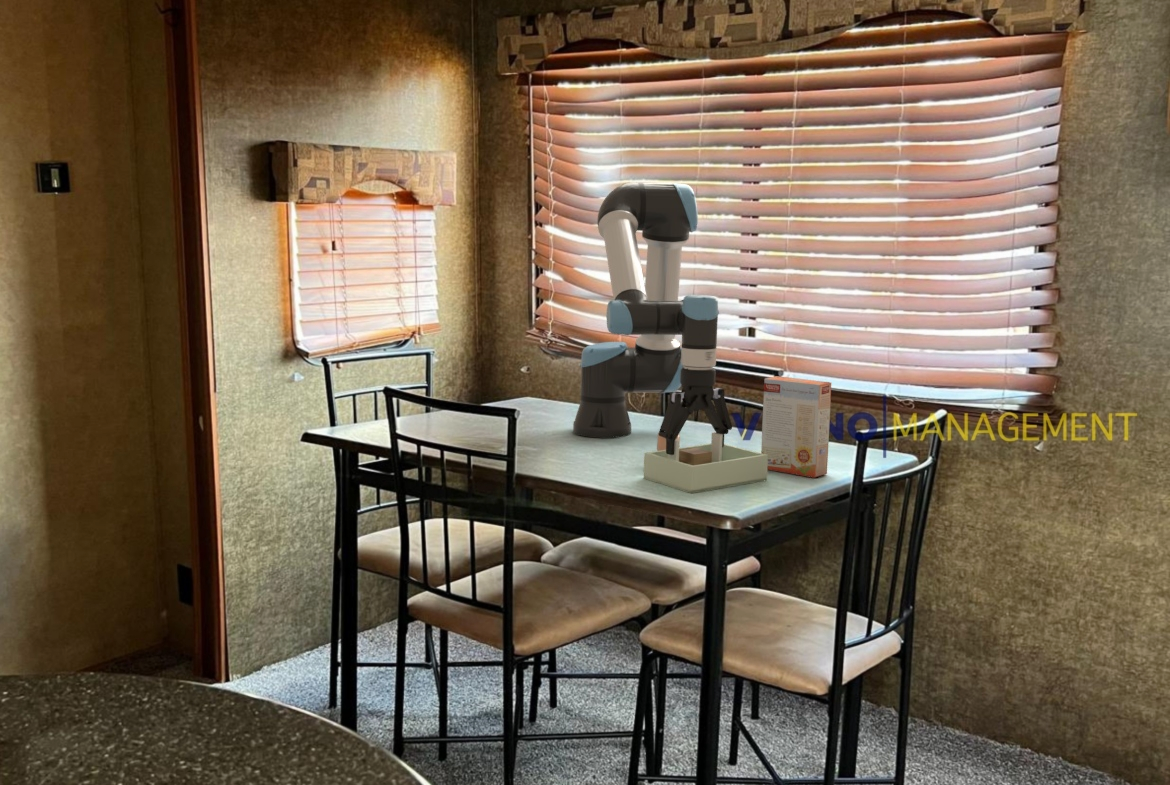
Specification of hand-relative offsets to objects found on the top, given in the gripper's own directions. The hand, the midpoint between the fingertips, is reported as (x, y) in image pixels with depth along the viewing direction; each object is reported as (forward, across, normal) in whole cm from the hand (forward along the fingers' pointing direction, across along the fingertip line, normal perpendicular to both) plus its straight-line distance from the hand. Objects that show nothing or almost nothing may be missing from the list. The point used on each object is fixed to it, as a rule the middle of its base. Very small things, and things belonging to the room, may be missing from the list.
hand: (694, 465), depth 244 cm
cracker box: (+3, +22, -8) cm, 24 cm away
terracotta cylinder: (+2, +3, +12) cm, 13 cm away
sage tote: (+2, 0, -4) cm, 4 cm away
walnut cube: (+2, 0, 0) cm, 2 cm away
